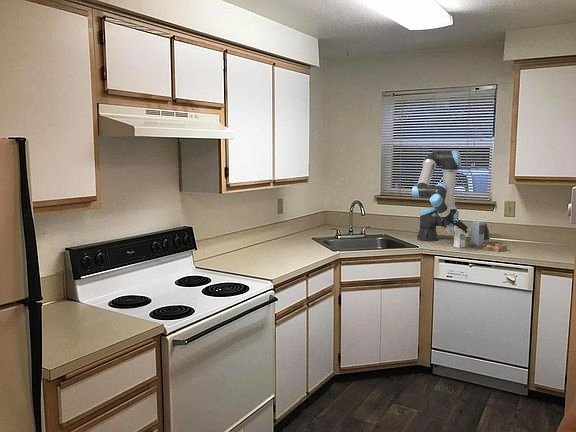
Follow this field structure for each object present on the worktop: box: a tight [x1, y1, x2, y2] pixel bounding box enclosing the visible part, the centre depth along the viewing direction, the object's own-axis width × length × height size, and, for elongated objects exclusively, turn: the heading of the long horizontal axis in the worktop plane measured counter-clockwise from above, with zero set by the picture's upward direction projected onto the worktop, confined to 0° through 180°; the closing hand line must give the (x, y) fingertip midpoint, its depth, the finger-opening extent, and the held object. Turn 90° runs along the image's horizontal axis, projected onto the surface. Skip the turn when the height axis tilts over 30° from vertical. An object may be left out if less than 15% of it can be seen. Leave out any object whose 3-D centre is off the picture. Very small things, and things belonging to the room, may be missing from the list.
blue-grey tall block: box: [470, 220, 486, 245], centre depth 345 cm, size 7×6×15 cm
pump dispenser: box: [484, 222, 491, 244], centre depth 357 cm, size 10×10×15 cm
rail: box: [467, 242, 508, 253], centre depth 340 cm, size 23×9×3 cm, turn 34°
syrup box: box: [452, 226, 467, 249], centre depth 344 cm, size 6×6×14 cm
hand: (459, 234), depth 342 cm, fingers open, 13 cm apart
